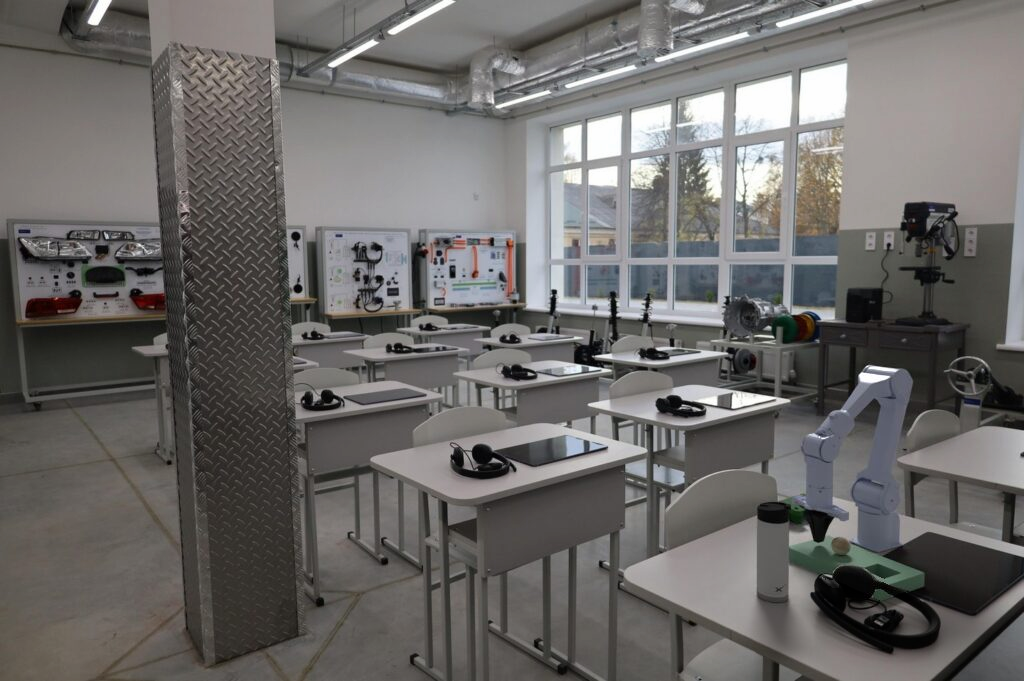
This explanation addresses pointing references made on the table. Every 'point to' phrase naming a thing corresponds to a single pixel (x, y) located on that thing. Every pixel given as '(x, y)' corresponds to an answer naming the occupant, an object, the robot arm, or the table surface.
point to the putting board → (827, 561)
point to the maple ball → (840, 546)
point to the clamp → (795, 510)
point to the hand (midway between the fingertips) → (818, 541)
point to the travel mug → (773, 551)
